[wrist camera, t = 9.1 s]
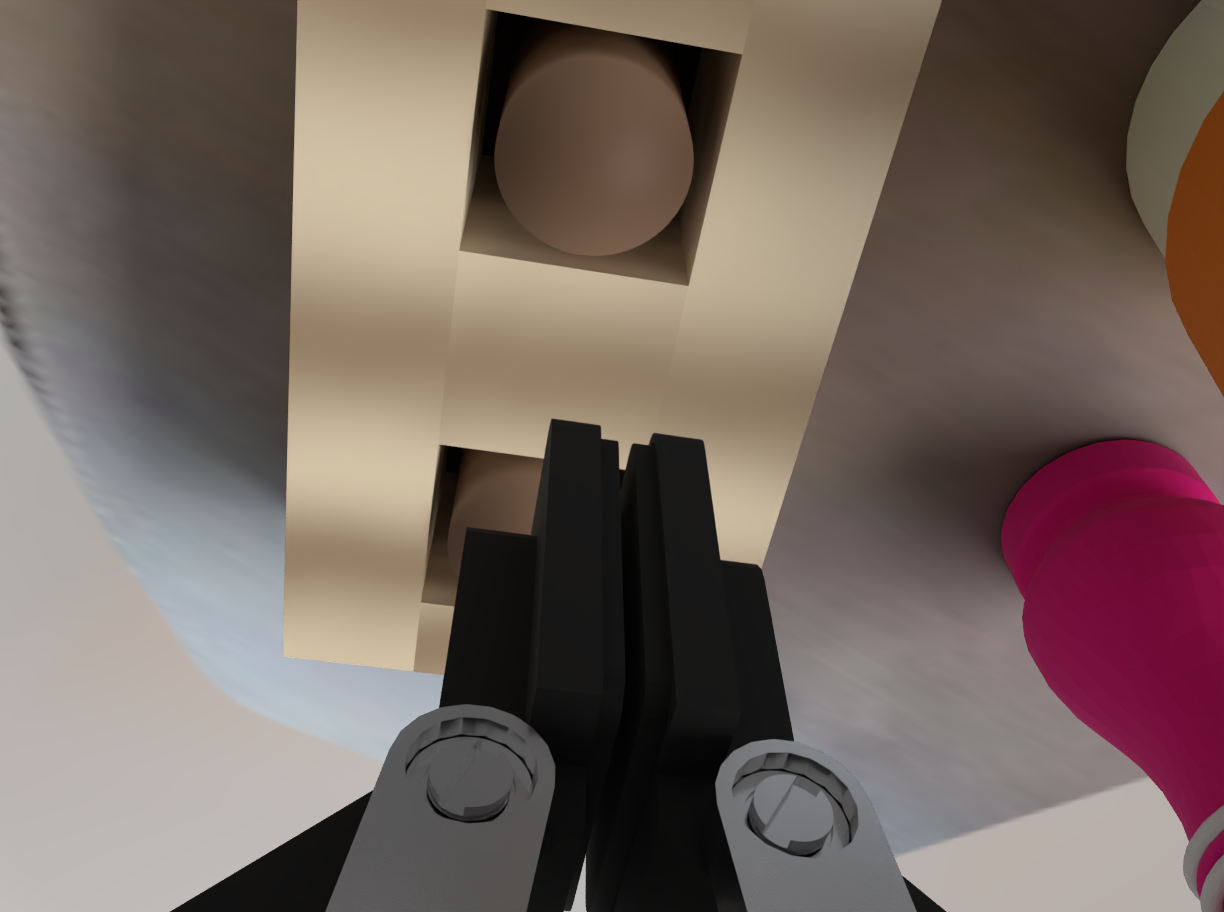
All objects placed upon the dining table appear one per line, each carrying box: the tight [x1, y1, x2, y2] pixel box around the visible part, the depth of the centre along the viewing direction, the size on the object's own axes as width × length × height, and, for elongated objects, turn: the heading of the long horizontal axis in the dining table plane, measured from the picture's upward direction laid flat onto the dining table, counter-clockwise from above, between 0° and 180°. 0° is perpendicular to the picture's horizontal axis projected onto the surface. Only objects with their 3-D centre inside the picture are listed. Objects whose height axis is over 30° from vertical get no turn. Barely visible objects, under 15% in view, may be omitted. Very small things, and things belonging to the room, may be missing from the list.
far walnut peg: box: [447, 448, 544, 578], centre depth 31 cm, size 4×4×6 cm
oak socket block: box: [283, 0, 942, 675], centre depth 29 cm, size 20×12×6 cm, turn 170°
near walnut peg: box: [494, 17, 694, 256], centre depth 26 cm, size 4×4×6 cm
